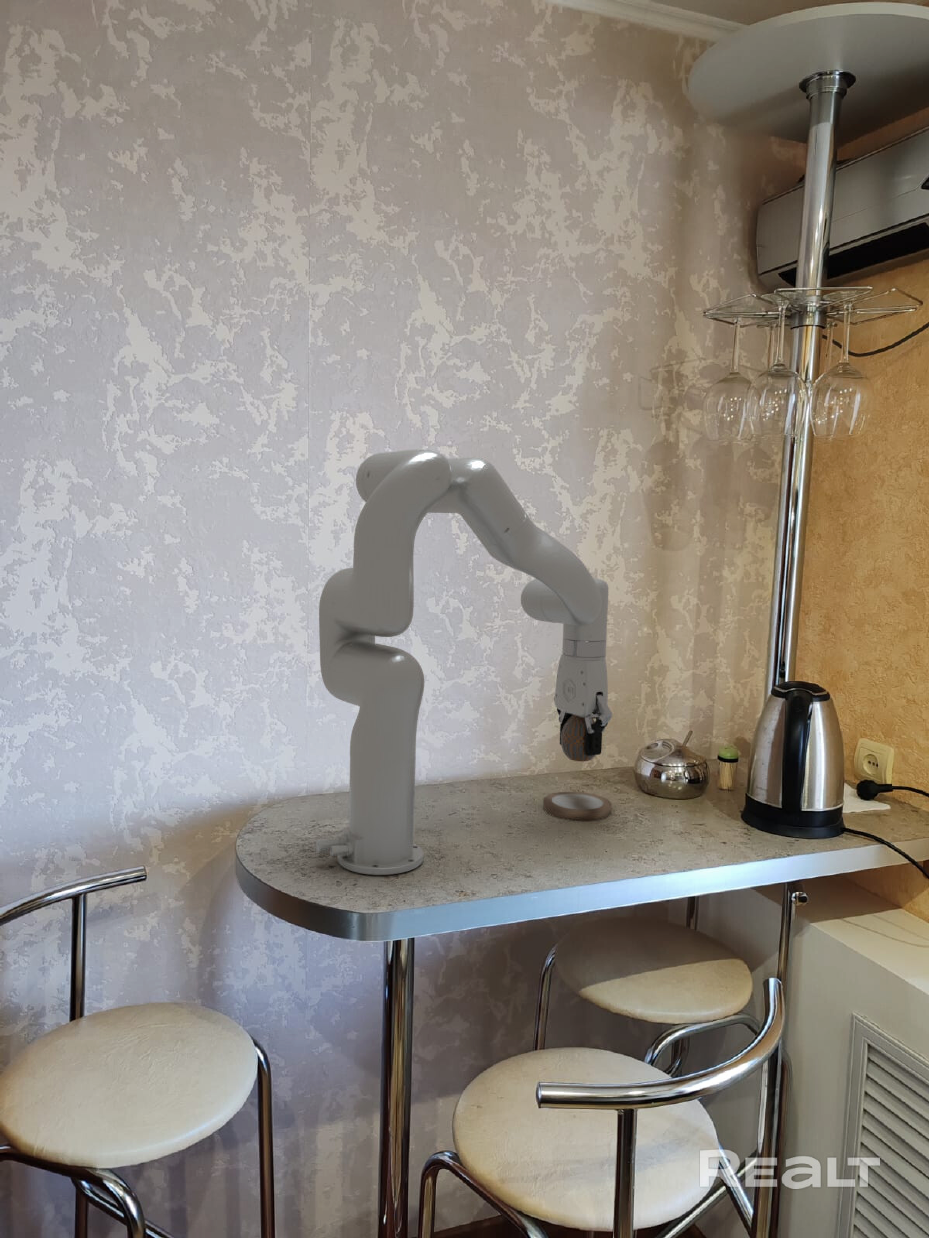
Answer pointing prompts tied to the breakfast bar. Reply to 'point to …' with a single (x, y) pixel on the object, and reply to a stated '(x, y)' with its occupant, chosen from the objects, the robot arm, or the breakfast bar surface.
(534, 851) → the breakfast bar surface
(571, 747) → the vase
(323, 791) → the breakfast bar surface
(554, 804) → the stand
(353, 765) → the robot arm
